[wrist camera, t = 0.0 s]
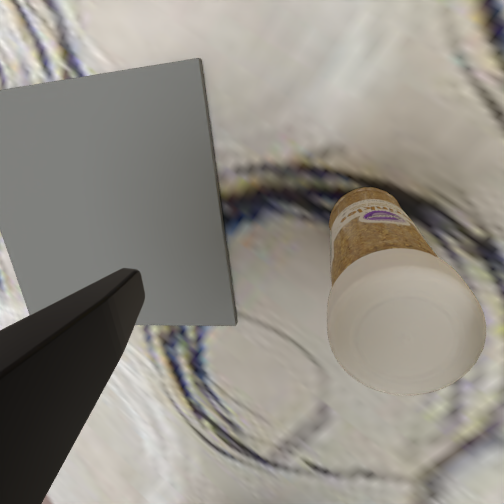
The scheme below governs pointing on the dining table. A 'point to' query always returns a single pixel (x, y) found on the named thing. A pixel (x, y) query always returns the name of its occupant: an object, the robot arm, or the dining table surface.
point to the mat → (116, 191)
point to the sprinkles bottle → (396, 301)
